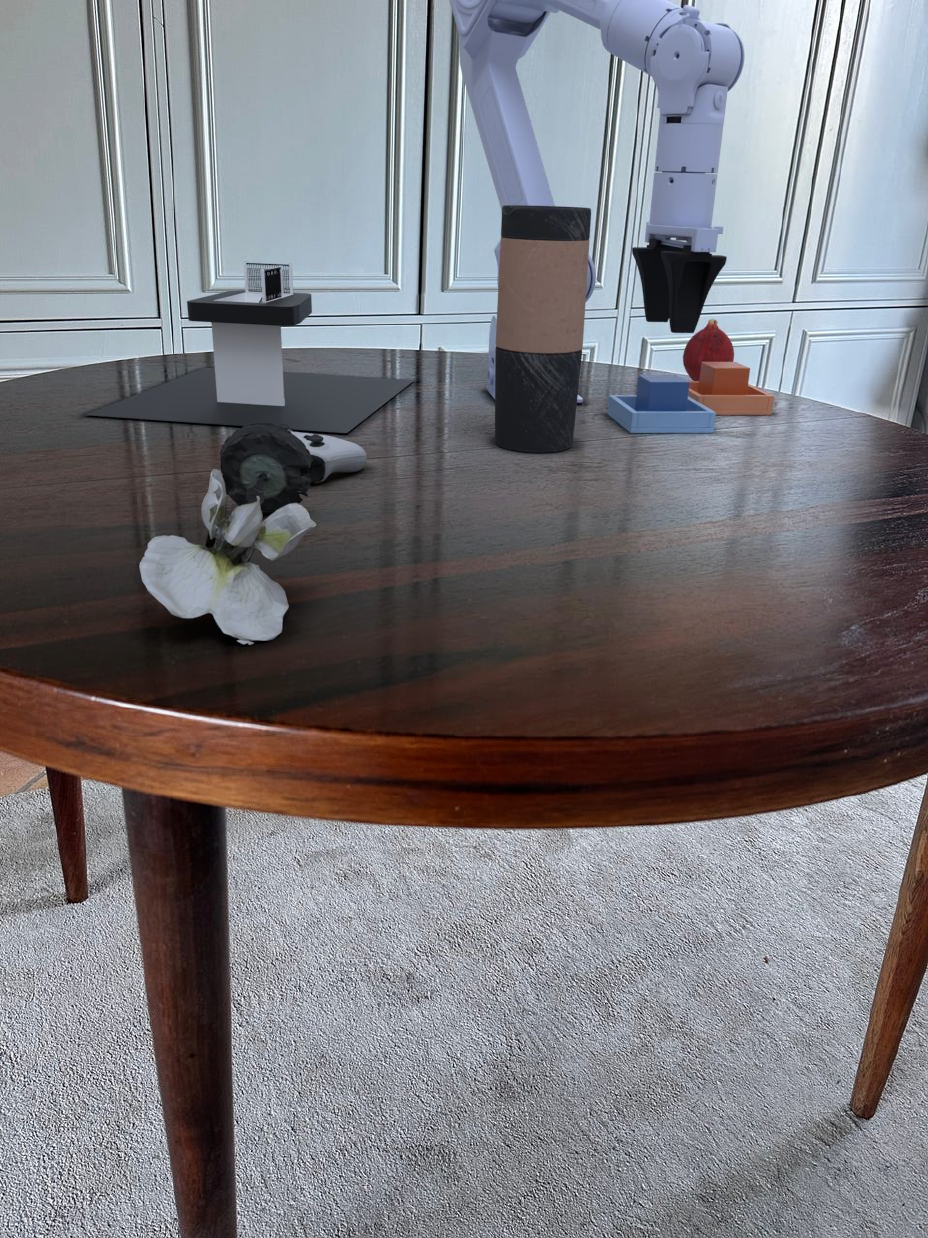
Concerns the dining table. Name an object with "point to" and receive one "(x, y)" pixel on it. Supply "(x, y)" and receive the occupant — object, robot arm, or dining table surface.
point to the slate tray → (661, 417)
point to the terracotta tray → (735, 401)
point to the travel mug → (540, 325)
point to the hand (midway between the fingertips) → (669, 326)
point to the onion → (707, 349)
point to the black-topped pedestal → (258, 369)
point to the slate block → (661, 393)
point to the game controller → (329, 455)
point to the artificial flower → (238, 537)
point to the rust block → (723, 378)
